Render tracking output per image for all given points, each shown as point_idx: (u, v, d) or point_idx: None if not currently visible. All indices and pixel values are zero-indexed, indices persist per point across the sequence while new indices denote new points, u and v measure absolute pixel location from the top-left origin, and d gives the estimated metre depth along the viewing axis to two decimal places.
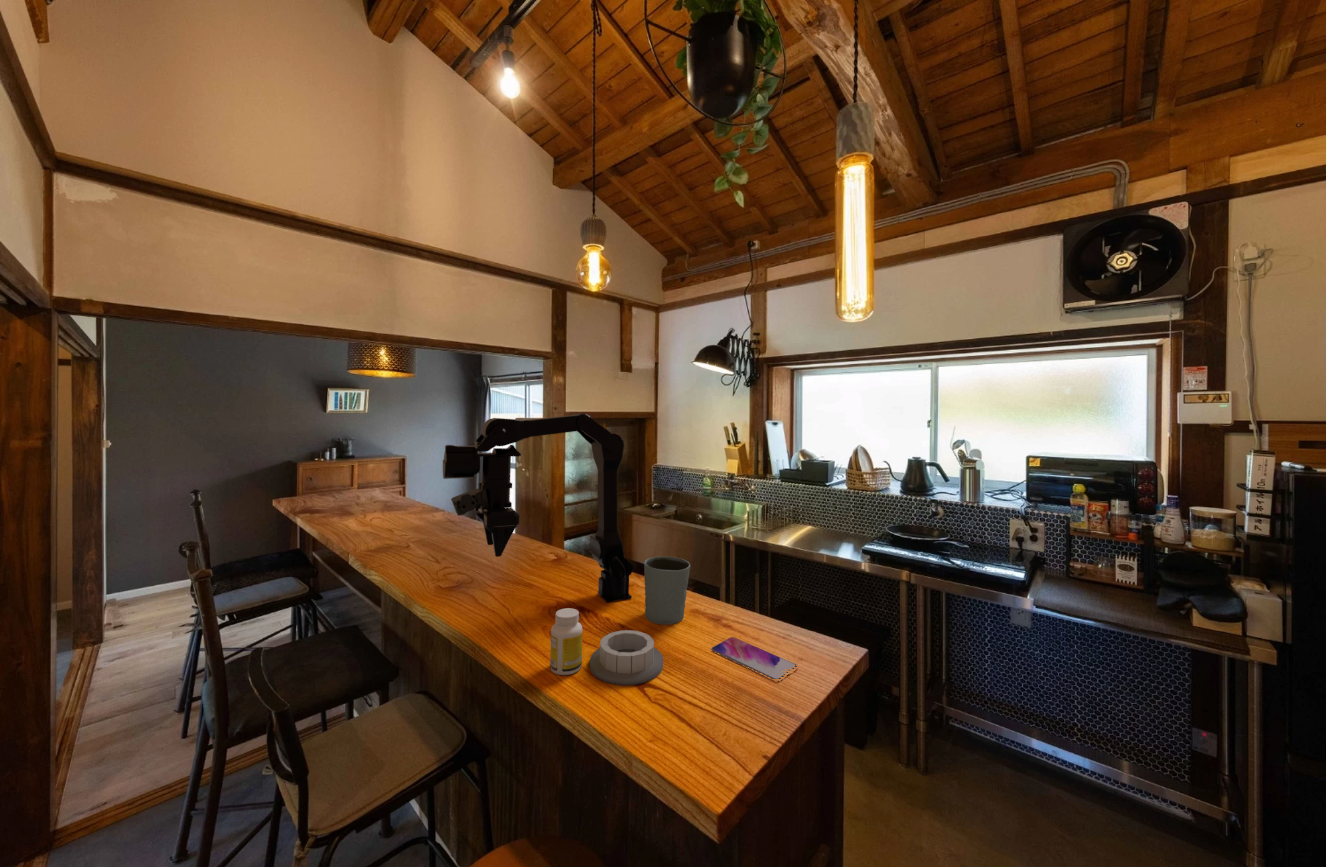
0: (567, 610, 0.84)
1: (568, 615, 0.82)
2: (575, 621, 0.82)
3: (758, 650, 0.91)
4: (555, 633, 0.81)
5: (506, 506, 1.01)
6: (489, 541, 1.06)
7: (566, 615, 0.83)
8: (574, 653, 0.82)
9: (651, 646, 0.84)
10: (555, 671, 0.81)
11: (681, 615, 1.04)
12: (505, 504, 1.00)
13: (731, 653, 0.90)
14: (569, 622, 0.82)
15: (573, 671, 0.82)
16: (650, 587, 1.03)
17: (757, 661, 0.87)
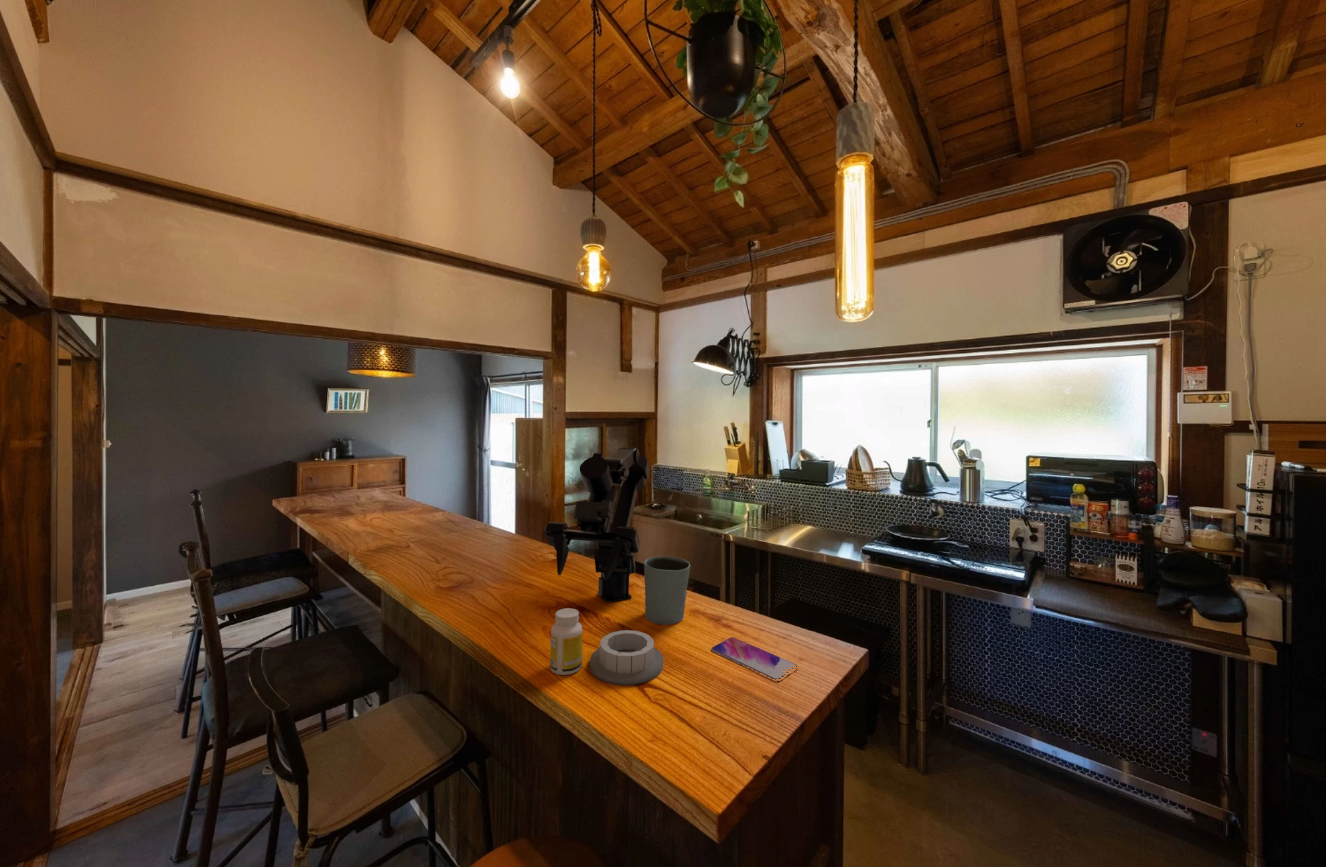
0: (567, 610, 0.84)
1: (568, 615, 0.82)
2: (575, 621, 0.82)
3: (758, 650, 0.91)
4: (555, 633, 0.81)
5: None
6: (560, 570, 0.92)
7: (566, 615, 0.83)
8: (574, 653, 0.82)
9: (651, 646, 0.84)
10: (555, 671, 0.81)
11: (681, 615, 1.04)
12: None
13: (731, 653, 0.90)
14: (569, 622, 0.82)
15: (573, 671, 0.82)
16: (650, 587, 1.03)
17: (757, 661, 0.87)
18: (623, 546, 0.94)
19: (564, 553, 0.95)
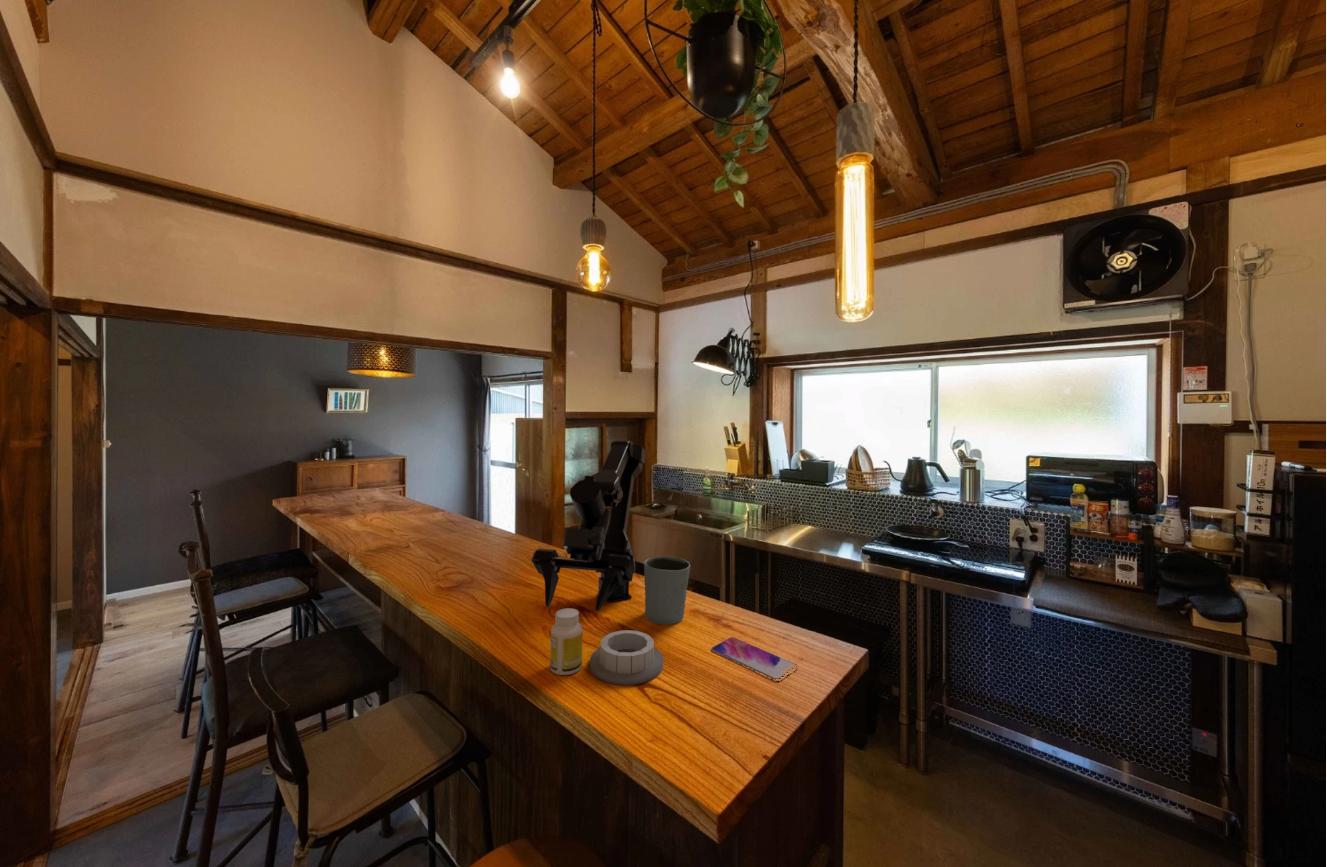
0: (567, 610, 0.84)
1: (568, 615, 0.82)
2: (575, 621, 0.82)
3: (758, 650, 0.91)
4: (555, 633, 0.81)
5: None
6: (549, 601, 0.87)
7: (566, 615, 0.83)
8: (574, 653, 0.82)
9: (651, 646, 0.84)
10: (555, 671, 0.81)
11: (681, 615, 1.04)
12: None
13: (731, 653, 0.90)
14: (569, 622, 0.82)
15: (573, 671, 0.82)
16: (650, 587, 1.03)
17: (757, 661, 0.87)
18: (616, 575, 0.88)
19: (553, 582, 0.90)
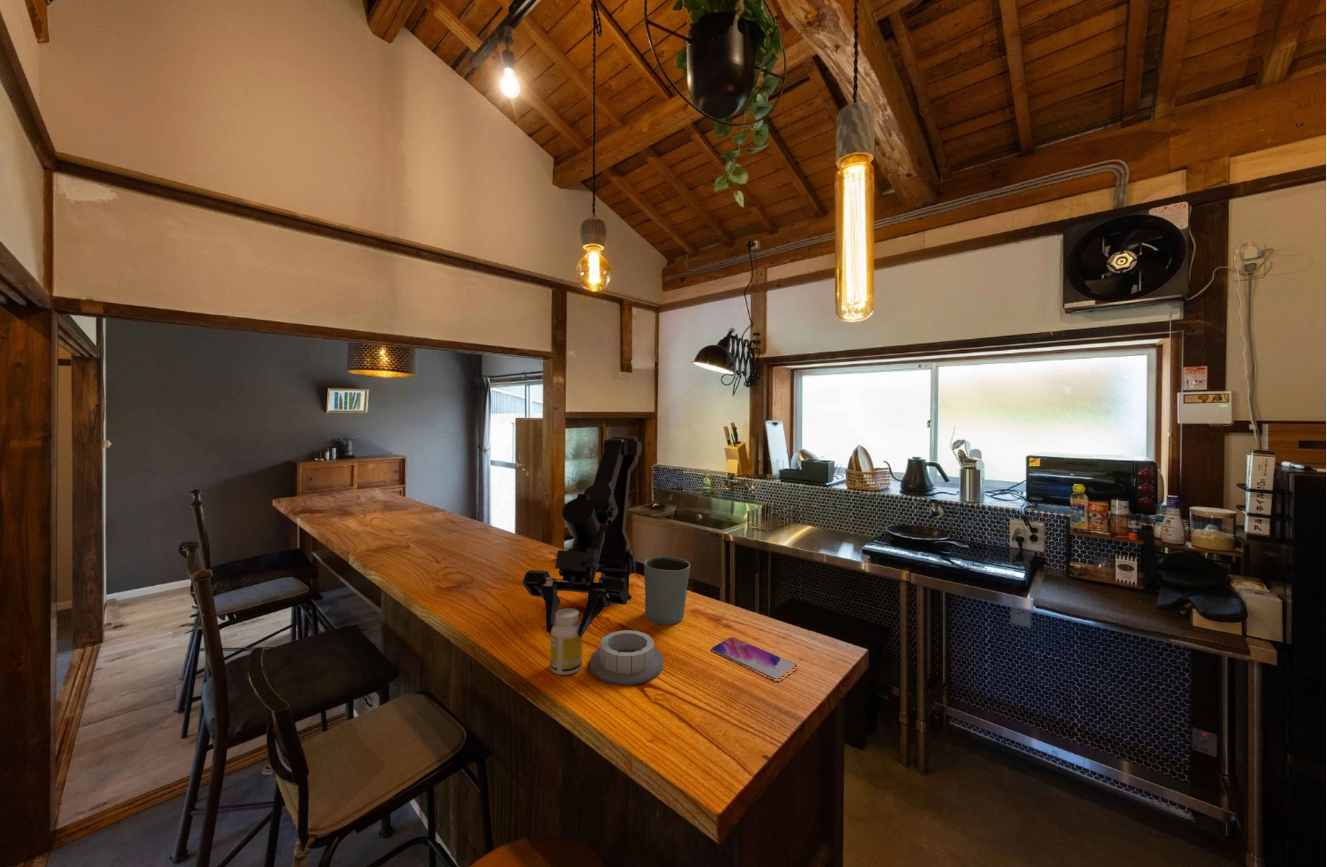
0: (567, 610, 0.84)
1: (568, 615, 0.82)
2: (575, 621, 0.82)
3: (758, 650, 0.91)
4: (555, 632, 0.81)
5: None
6: (550, 627, 0.83)
7: (566, 614, 0.83)
8: (574, 653, 0.82)
9: (651, 646, 0.84)
10: (555, 671, 0.81)
11: (681, 615, 1.04)
12: None
13: (731, 653, 0.90)
14: (569, 621, 0.82)
15: (573, 671, 0.82)
16: (650, 587, 1.03)
17: (757, 661, 0.87)
18: (600, 598, 0.85)
19: (554, 607, 0.86)
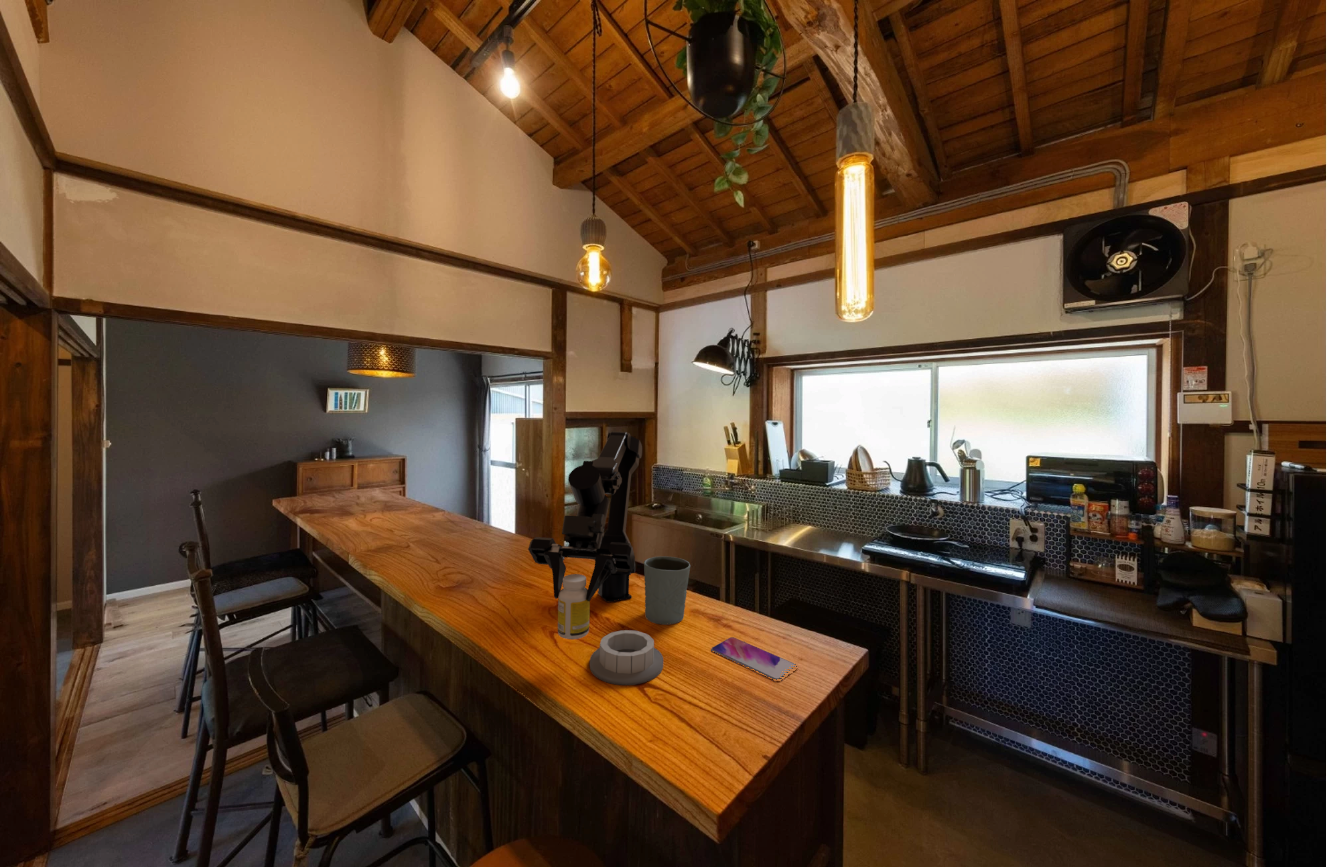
0: (574, 576, 0.84)
1: (576, 580, 0.82)
2: (583, 586, 0.82)
3: (758, 650, 0.91)
4: (563, 597, 0.81)
5: None
6: (557, 592, 0.83)
7: (574, 579, 0.82)
8: (582, 618, 0.82)
9: (651, 646, 0.84)
10: (563, 635, 0.81)
11: (681, 615, 1.04)
12: None
13: (731, 653, 0.90)
14: (576, 586, 0.81)
15: (581, 635, 0.82)
16: (650, 587, 1.03)
17: (757, 661, 0.87)
18: (607, 563, 0.85)
19: (561, 573, 0.86)
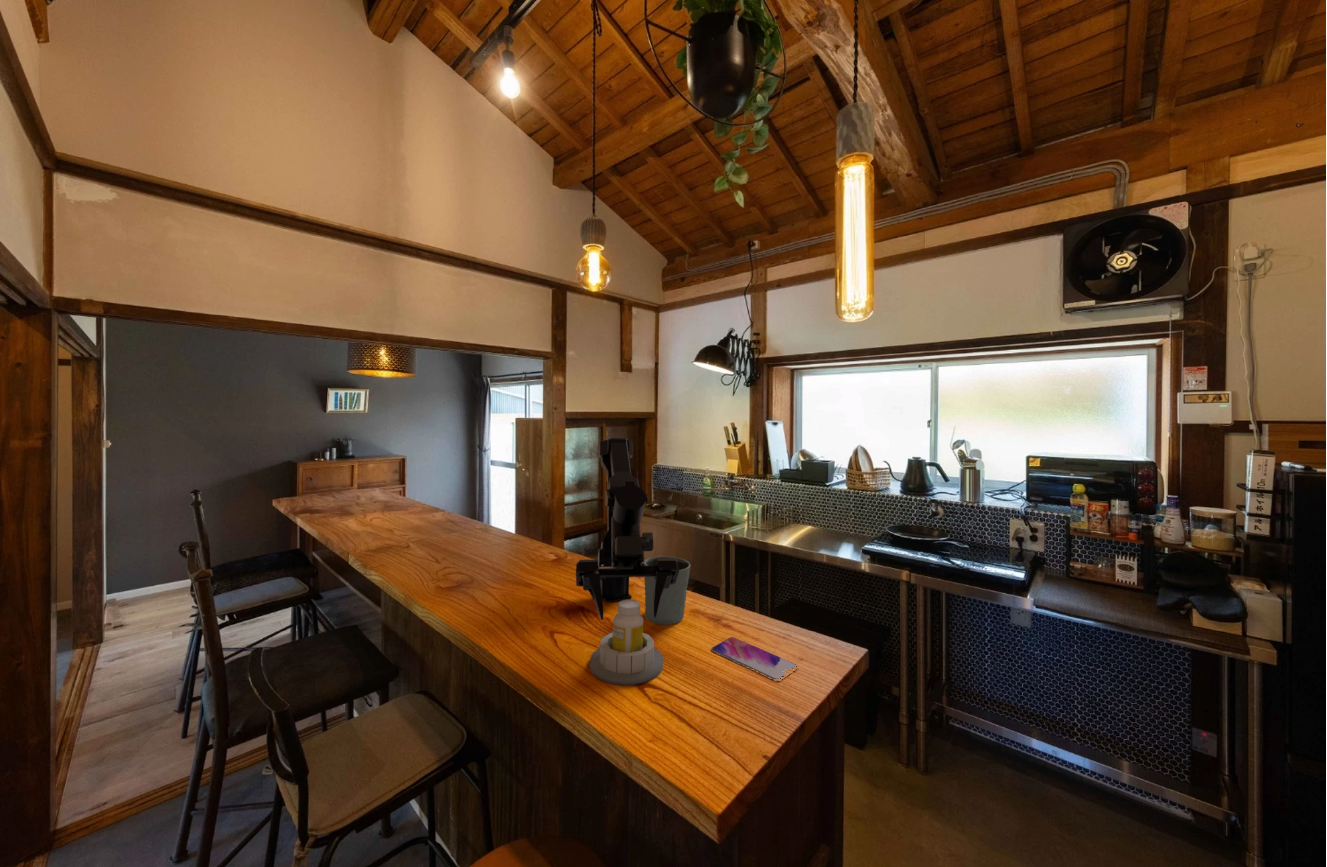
0: (627, 602, 0.86)
1: (633, 605, 0.85)
2: (639, 610, 0.85)
3: (757, 650, 0.91)
4: (623, 623, 0.83)
5: None
6: None
7: (630, 605, 0.85)
8: (640, 641, 0.84)
9: (651, 646, 0.84)
10: None
11: (681, 615, 1.04)
12: None
13: (731, 653, 0.90)
14: (635, 611, 0.84)
15: None
16: (650, 587, 1.03)
17: (757, 661, 0.87)
18: (665, 579, 0.88)
19: None
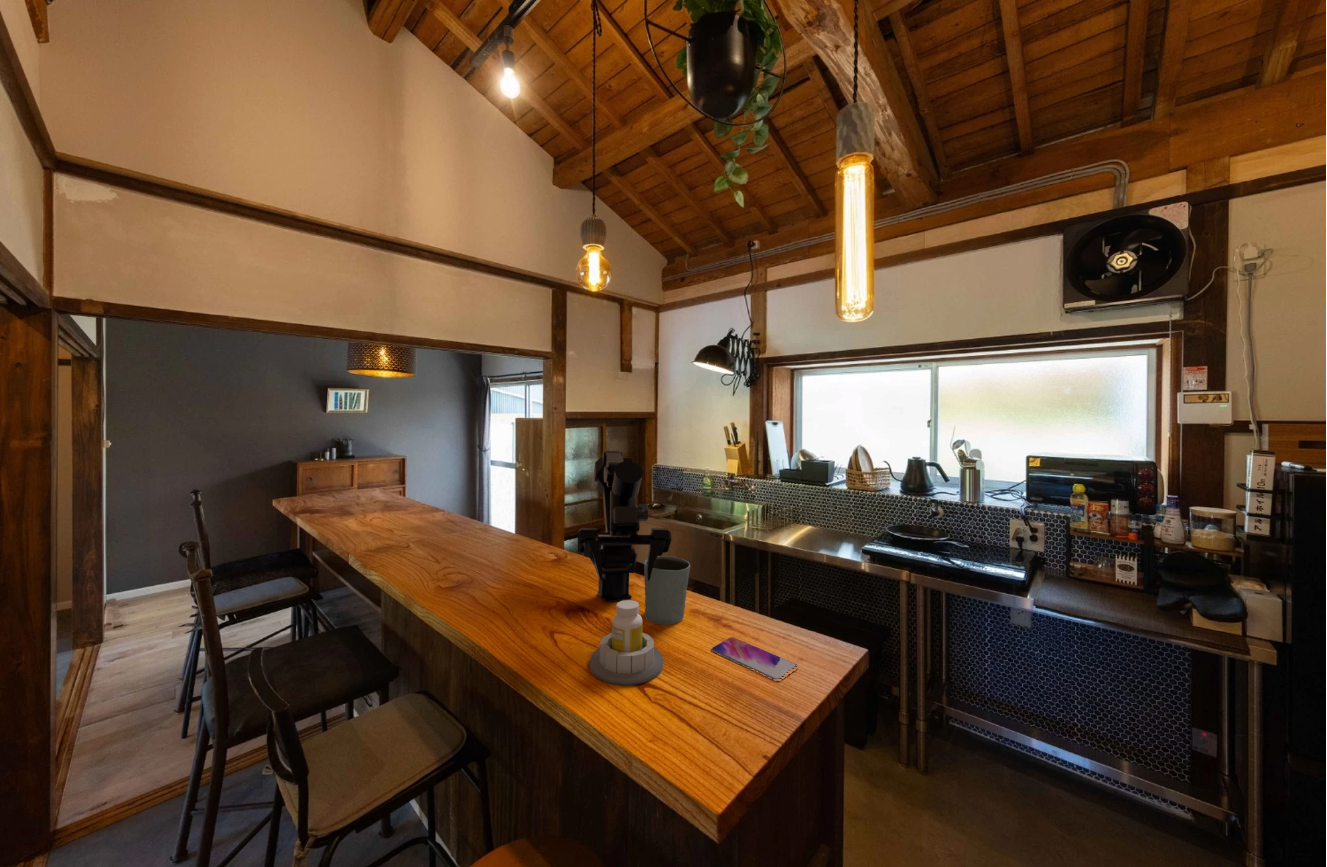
0: (625, 602, 0.86)
1: (631, 606, 0.84)
2: (638, 611, 0.85)
3: (757, 650, 0.91)
4: (622, 624, 0.83)
5: None
6: (602, 575, 0.92)
7: (629, 606, 0.84)
8: (639, 642, 0.84)
9: (651, 646, 0.84)
10: None
11: (681, 615, 1.04)
12: None
13: (731, 653, 0.90)
14: (633, 612, 0.84)
15: None
16: (650, 587, 1.03)
17: (757, 661, 0.87)
18: (659, 547, 0.97)
19: None
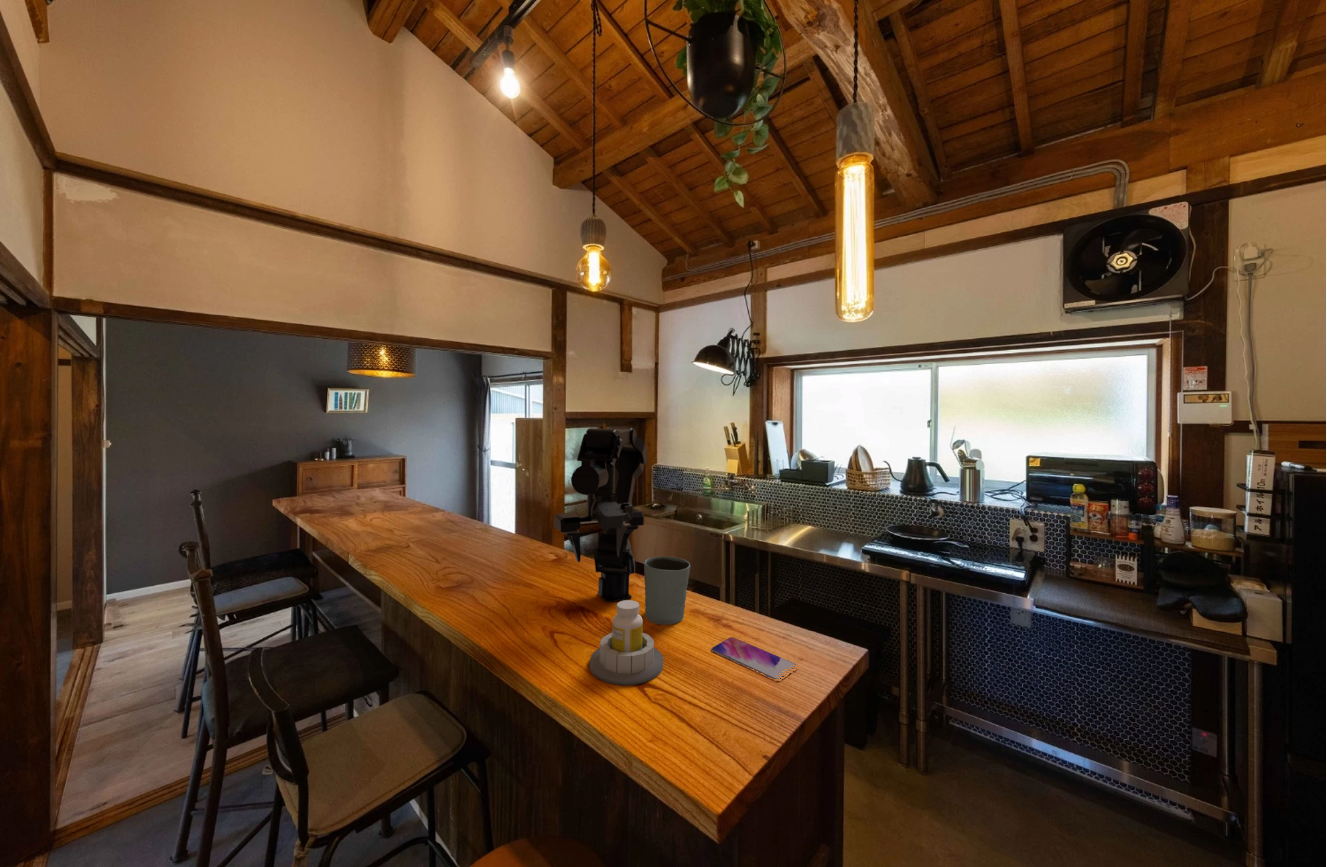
0: (626, 602, 0.86)
1: (631, 606, 0.84)
2: (638, 611, 0.85)
3: (757, 650, 0.91)
4: (622, 624, 0.83)
5: None
6: None
7: (629, 606, 0.84)
8: (640, 642, 0.84)
9: (651, 646, 0.84)
10: None
11: (681, 615, 1.04)
12: None
13: (731, 653, 0.90)
14: (634, 612, 0.84)
15: None
16: (650, 587, 1.03)
17: (757, 661, 0.87)
18: None
19: None
